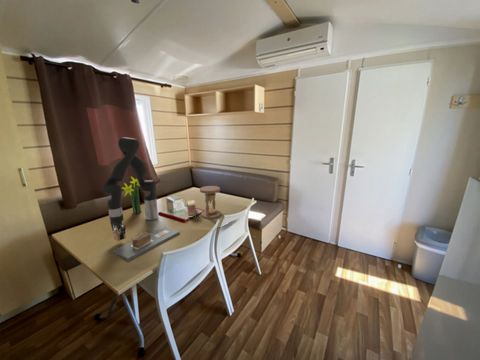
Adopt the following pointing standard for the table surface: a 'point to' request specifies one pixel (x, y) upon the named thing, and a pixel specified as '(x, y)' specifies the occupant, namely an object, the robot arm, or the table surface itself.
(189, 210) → the stack of blocks
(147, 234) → the walnut brick
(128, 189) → the daffodil flowers
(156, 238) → the board
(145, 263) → the table surface
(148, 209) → the robot arm
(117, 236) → the terracotta cube
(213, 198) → the hourglass
